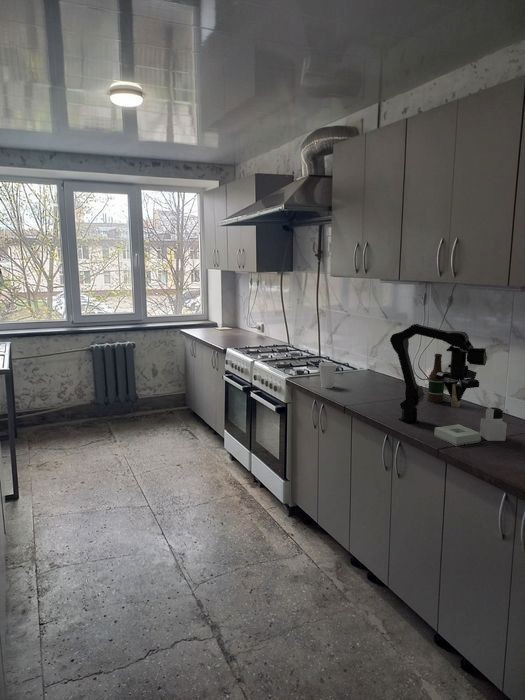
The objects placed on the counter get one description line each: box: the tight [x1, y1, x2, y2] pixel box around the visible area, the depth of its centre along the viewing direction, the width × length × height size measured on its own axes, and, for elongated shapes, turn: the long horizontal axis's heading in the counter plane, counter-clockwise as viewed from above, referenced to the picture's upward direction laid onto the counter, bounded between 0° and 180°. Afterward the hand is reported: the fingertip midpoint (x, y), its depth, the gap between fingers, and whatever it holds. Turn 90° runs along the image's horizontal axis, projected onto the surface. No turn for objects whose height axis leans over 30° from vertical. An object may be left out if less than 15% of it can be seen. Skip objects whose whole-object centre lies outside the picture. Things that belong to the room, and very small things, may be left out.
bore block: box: [434, 423, 482, 447], centre depth 200 cm, size 12×12×4 cm
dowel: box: [450, 383, 461, 408], centre depth 210 cm, size 3×3×9 cm
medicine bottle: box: [479, 407, 508, 442], centre depth 201 cm, size 7×7×12 cm
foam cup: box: [318, 361, 337, 389], centre depth 283 cm, size 10×9×13 cm
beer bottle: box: [427, 353, 445, 404], centre depth 253 cm, size 8×8×24 cm
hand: (455, 399), depth 210 cm, fingers closed on dowel, 3 cm apart
